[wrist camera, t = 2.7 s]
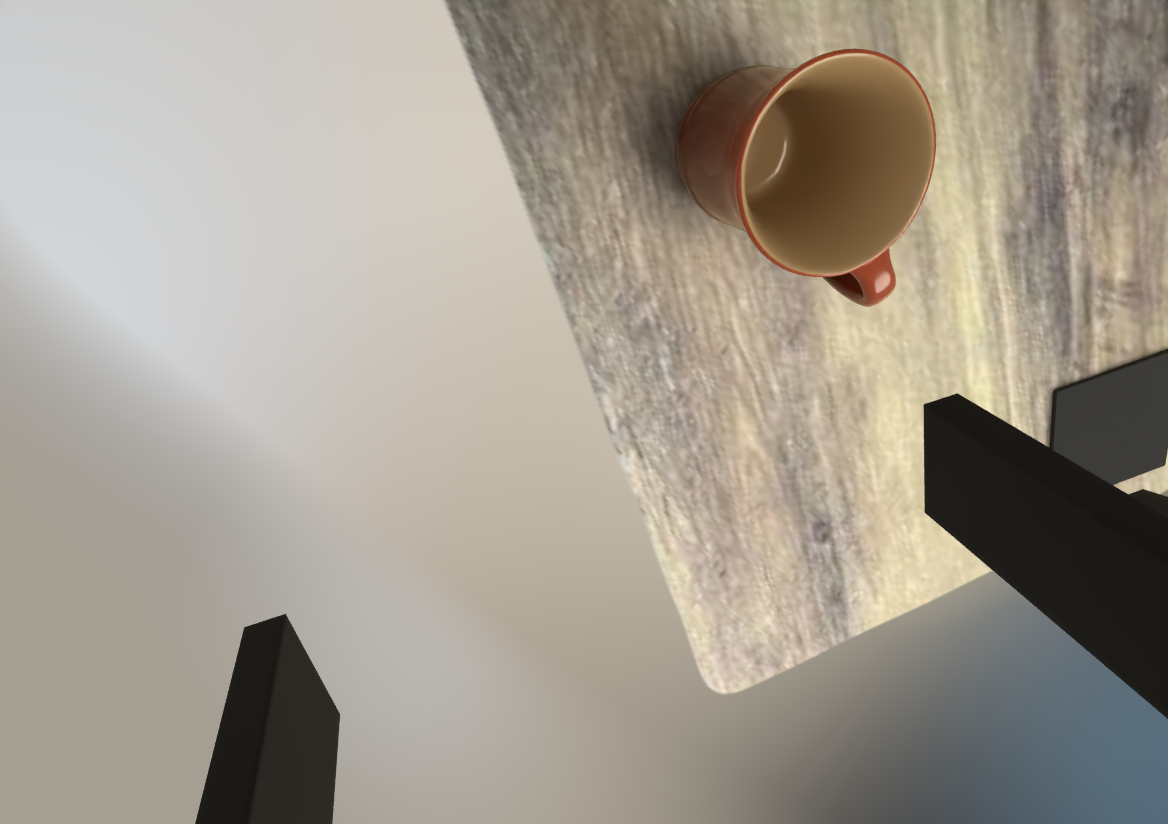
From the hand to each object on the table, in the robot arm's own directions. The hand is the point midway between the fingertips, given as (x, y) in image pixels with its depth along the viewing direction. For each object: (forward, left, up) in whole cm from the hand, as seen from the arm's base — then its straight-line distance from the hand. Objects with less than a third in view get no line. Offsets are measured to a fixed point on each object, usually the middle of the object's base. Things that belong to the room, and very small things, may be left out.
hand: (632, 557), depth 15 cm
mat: (+26, +40, -27) cm, 54 cm away
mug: (0, +15, -27) cm, 31 cm away
